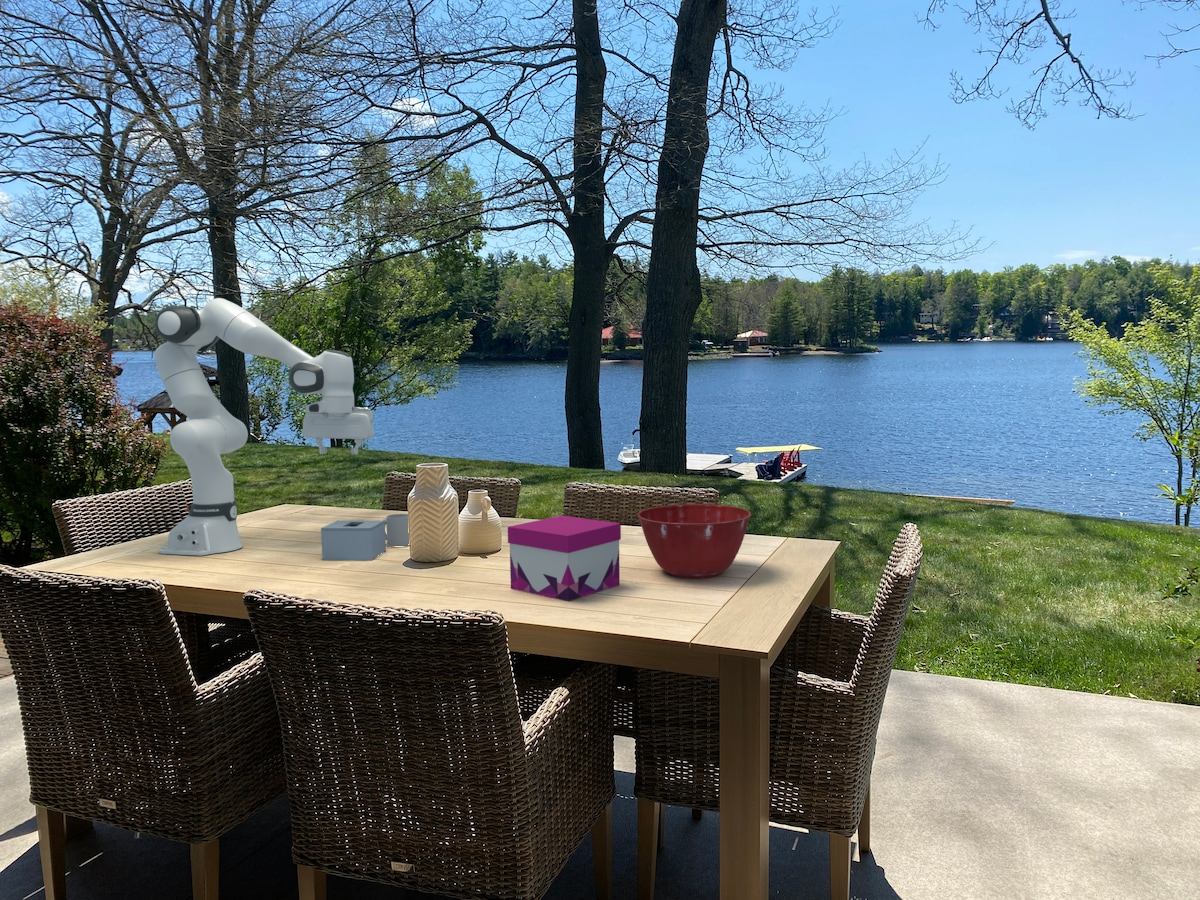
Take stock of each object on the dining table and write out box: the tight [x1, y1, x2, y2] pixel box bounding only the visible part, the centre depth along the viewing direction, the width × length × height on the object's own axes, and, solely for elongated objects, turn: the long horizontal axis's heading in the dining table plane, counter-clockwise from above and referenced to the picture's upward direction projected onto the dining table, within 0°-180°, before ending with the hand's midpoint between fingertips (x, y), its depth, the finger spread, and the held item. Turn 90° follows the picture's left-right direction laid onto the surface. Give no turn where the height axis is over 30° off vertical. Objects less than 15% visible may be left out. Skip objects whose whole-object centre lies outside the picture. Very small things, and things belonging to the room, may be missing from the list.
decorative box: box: [507, 515, 622, 602], centre depth 199 cm, size 19×19×15 cm
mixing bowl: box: [637, 503, 752, 579], centre depth 212 cm, size 28×28×16 cm
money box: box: [320, 520, 387, 561], centre depth 237 cm, size 14×12×9 cm
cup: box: [382, 513, 409, 547], centre depth 252 cm, size 7×10×9 cm
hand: (338, 454), depth 244 cm, fingers open, 8 cm apart
